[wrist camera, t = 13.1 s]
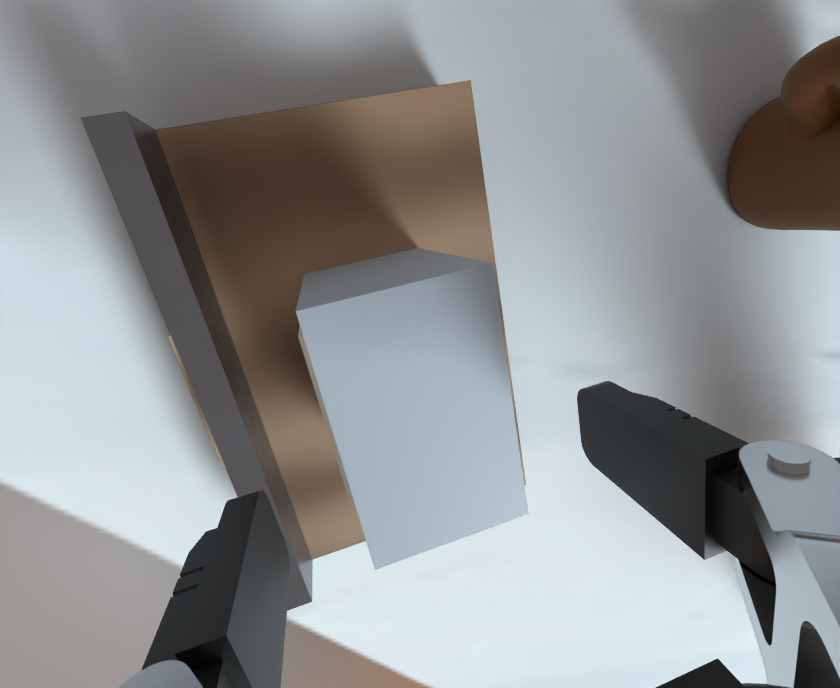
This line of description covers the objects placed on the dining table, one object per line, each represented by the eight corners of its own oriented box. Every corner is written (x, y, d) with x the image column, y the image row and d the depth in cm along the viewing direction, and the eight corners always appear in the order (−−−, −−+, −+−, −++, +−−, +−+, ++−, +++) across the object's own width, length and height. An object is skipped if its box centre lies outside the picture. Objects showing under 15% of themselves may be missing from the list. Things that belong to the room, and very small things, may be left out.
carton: (424, 246, 18) (503, 260, 10) (455, 406, 20) (536, 510, 13) (296, 275, 17) (282, 314, 9) (345, 440, 19) (365, 573, 12)
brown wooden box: (502, 456, 26) (549, 514, 21) (281, 530, 23) (271, 616, 18) (447, 101, 19) (495, 56, 14) (135, 153, 17) (58, 121, 12)
